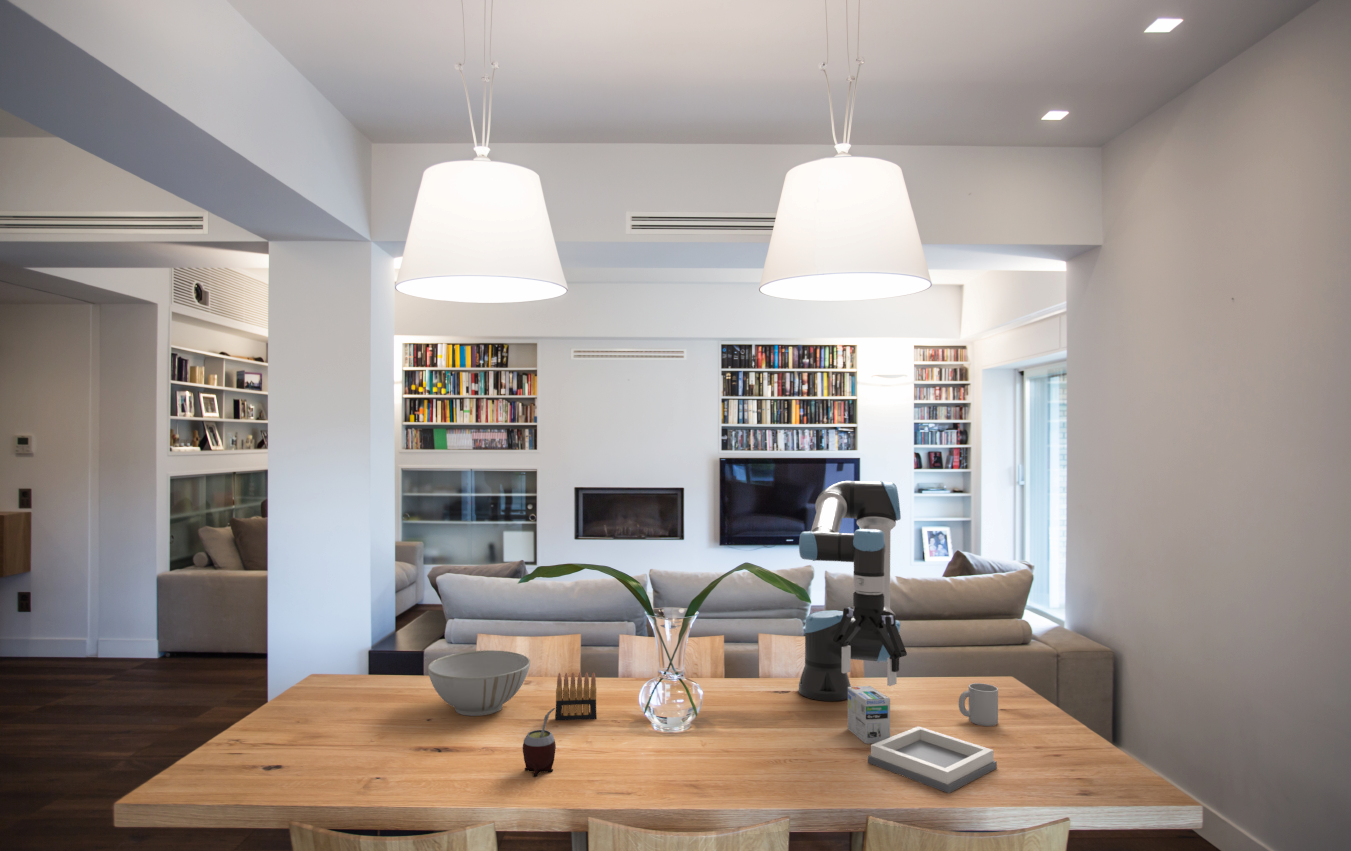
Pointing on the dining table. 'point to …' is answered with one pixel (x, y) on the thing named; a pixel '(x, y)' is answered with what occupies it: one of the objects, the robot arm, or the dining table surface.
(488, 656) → the decorative bowl
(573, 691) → the ammunition clip
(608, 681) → the dining table surface
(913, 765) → the socket dock
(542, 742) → the mate gourd
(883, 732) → the light bulb box
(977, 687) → the cup
